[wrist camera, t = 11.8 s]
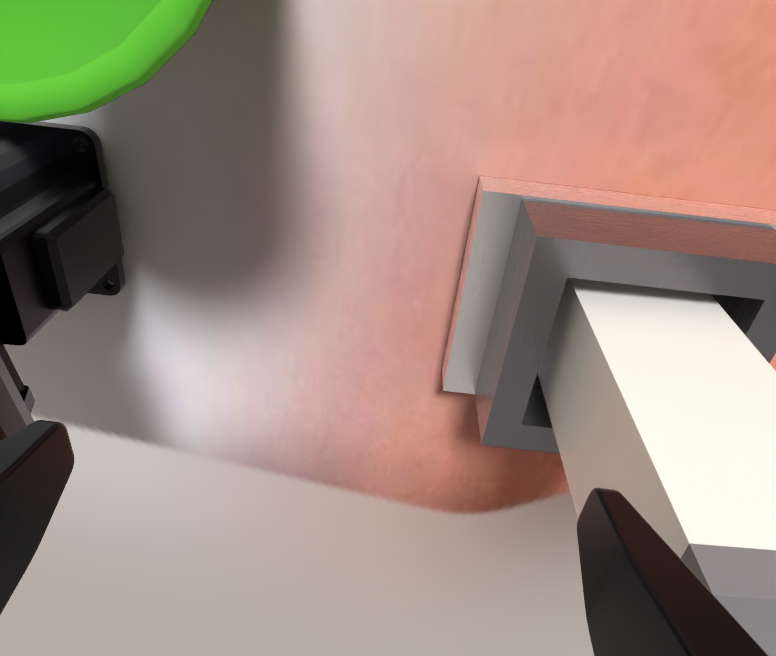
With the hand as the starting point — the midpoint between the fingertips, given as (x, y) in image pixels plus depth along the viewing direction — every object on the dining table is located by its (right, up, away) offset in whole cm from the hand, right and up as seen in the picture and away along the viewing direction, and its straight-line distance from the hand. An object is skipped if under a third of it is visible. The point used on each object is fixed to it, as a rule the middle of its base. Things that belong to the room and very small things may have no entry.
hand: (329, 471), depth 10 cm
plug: (+9, +3, +11) cm, 15 cm away
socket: (+9, +4, +13) cm, 16 cm away
